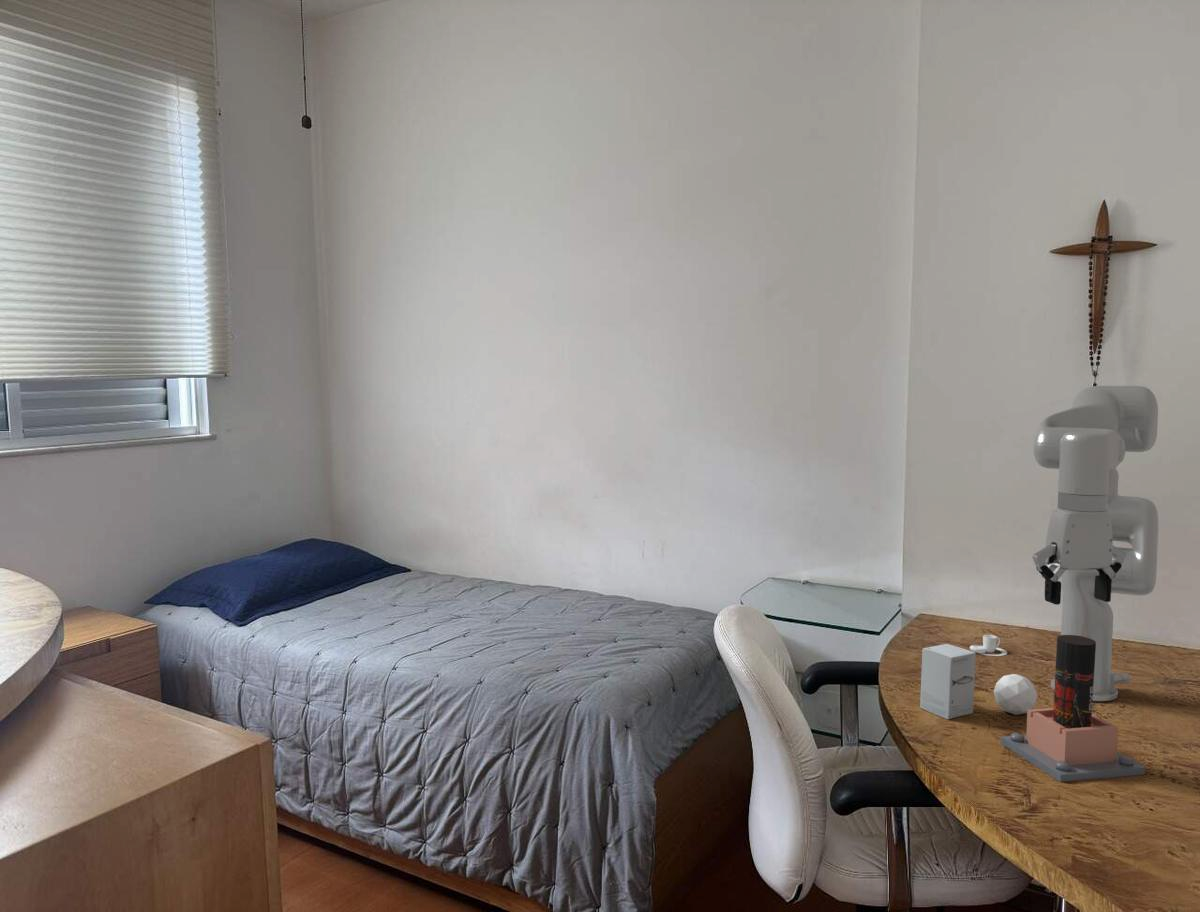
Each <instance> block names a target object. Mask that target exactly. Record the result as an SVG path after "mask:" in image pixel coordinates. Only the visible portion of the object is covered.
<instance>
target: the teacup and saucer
mask: <svg viewBox="0 0 1200 912" xmlns="http://www.w3.org/2000/svg"><path fill="white" fill-rule="evenodd" d="M997 640H998V642H997ZM1000 643H1001V638H1000V637H997V636H996V635H993V634H983V635H982V644H983V645H970V646H969V649H970V650H969V651H972V652H975V653H976V654H979V655H983V656H988V657H1003V656H1007V655H1008V652H1007V650H1006V649H1003V648H1001V647H999V646H1000ZM996 650H997V651H1000V652H1001V653H1000V654H990V653H994V652H995V651H996Z"/></svg>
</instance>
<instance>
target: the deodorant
mask: <svg viewBox="0 0 1200 912" xmlns="http://www.w3.org/2000/svg"><path fill="white" fill-rule="evenodd" d="M1095 651H1096V642H1095V641H1094V640H1093V639H1090V638H1087V637H1083V636H1077V635H1061V634H1060V635H1057V638H1056V653H1055V655H1056V656H1055V672H1054V673H1055V674H1054V678H1055V688H1054V690H1053V691H1054V692H1053V707H1052V708H1053V721H1054V722H1056V723H1058V724H1060V725H1062V726H1063V727H1065V728H1068V729H1069V728H1083V727H1091V719H1092V714H1093V702H1094V701H1093V685H1094V668H1095Z"/></svg>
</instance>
